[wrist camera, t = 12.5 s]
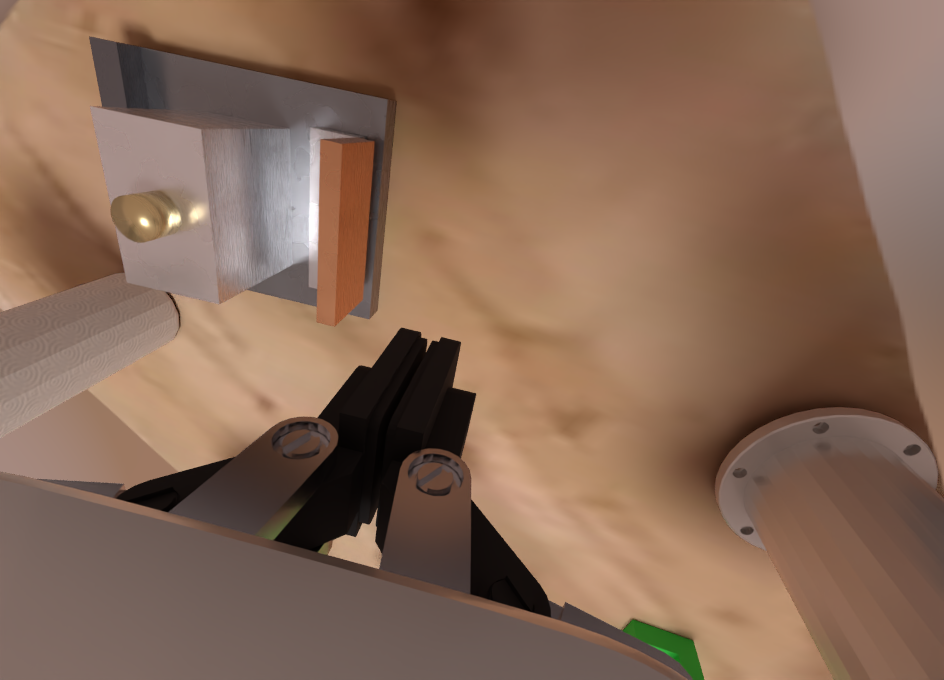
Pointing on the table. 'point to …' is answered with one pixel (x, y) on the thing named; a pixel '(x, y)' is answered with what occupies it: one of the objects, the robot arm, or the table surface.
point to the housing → (196, 198)
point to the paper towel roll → (76, 343)
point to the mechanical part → (668, 646)
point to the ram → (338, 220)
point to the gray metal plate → (270, 102)
